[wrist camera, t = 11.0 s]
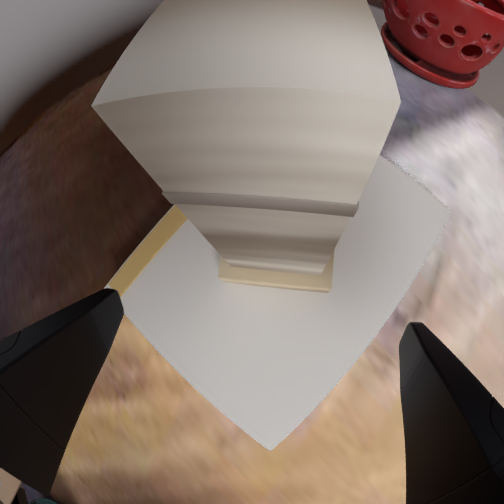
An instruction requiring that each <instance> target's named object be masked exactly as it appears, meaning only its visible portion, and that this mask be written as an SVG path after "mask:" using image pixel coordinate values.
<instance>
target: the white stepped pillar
mask: <svg viewBox="0 0 504 504" xmlns="http://www.w3.org/2000/svg"><path fill="white" fill-rule="evenodd" d="M400 103H401V100H400V96H399V92H398V88H397V84H396V81H395V77H394V74H393V70H392V67H391V64H390V61H389V58H388V55H387V52H386V49H385V46H384V43H383V40H382V37H381V35H380V32H379V29H378V27H377V24H376V21H375V19H374V17H373V14H372V12H371V9H370V7H369V5H368V2H367V0H164V1H163V2H162V3H161V4H160V5H159V7H158V8H157V9H156V10H155V12H154V13H153V14H152V15H151V16H150V18H149V19H148V20H147V21H146V22H145V24H144V25H143V26H142V28H141V29H140V30H139V32H138V33H137V34H136V36H135V37H134V39H133V40H132V41H131V43H130V44H129V45H128V47H127V48H126V50H125V51H124V53H123V54H122V56H121V57H120V59H119V60H118V62H117V63H116V65H115V66H114V68H113V69H112V71H111V73H110V74H109V76H108V77H107V79H106V81H105V82H104V84H103V86H102V87H101V89H100V91H99V93H98V94H97V96H96V98H95V100H94V102H93V104H92V105H91V106H92V108H93V109H94V110H95V111H96V112H97V114H98V115H99V116H100V117H101V118H102V120H103V121H104V122H105V123H106V124H107V126H108V127H109V128H110V129H111V130H112V132H113V133H114V134H115V135H116V136H117V138H118V139H119V140H120V141H121V142H122V143H123V145H124V146H125V147H126V148H127V149H128V151H129V152H130V153H131V154H132V155H133V156H134V158H135V159H136V160H137V161H138V162H139V163H140V165H141V166H142V167H143V168H144V169H145V170H146V172H147V173H148V174H149V175H150V176H151V177H152V178H153V180H154V181H155V182H156V183H157V184H158V185H159V186H160V188H161V189H162V190H163V191H162V194H163V195H164V197H165V198H166V199H167V200H168V201H169V202H170V203H171V204H175V205H176V206H177V207H178V208H179V209H180V210H181V211H182V213H183V214H184V215H185V216H186V217H187V218H188V219H189V220H190V222H191V223H192V224H193V225H194V226H195V227H196V228H197V229H198V231H199V232H200V233H201V234H202V235H203V236H204V237H205V238H206V239H207V241H208V242H209V243H210V244H211V245H212V246H213V247H214V248H215V249H216V251H217V252H218V253H219V254H220V255H221V260H220V267H219V273H218V278H220V279H221V280H222V281H224V282H228V283H237V284H245V285H254V286H263V287H272V288H282V289H292V290H302V291H312V292H323V293H328V292H329V291H330V290H331V288H332V276H333V261H334V249H335V247H336V245H337V243H338V241H339V239H340V237H341V235H342V233H343V231H344V229H345V227H346V225H347V223H348V221H349V219H350V217H354V215H355V214H356V212H357V210H358V208H359V199H360V196H361V194H362V192H363V190H364V188H365V186H366V184H367V181H368V179H369V177H370V175H371V173H372V170H373V168H374V166H375V164H376V161H377V159H378V157H379V155H380V152H381V150H382V148H383V145H384V143H385V141H386V138H387V136H388V133H389V131H390V128H391V126H392V124H393V121H394V119H395V116H396V114H397V111H398V109H399V106H400Z"/></svg>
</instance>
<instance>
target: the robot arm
mask: <svg viewBox="0 0 504 504" xmlns="http://www.w3.org/2000/svg"><path fill="white" fill-rule="evenodd" d="M123 315H124V308H123V305H122V302H121V299H120V295H119V293H118V291H117V290H115V289H111V288H105V289H102V290H100V291H98V292H96V293H94V294H92V295H90V296H88V297H86V298H84V299H82V300H80V301H78V302H76V303H74V304H72V305H70V306H68V307H66V308H64V309H62V310H60V311H58V312H56V313H54V314H52V315H50V316H48V317H46V318H44V319H42V320H40V321H38V322H36V323H34V324H32V325H30V326H28V327H26V328H24V329H22V331H21V330H20V331H18V332H16V333H15V334H13V335H11V336H9V337H7V338H5V339H3V340H1V341H0V504H28V501H27V497H26V494H25V490H24V489H23V488H22V487H21V484H22V482H23V483H25V484H26V485H28V486H30V487H32V488H33V489H35V490H37V491H39V492H40V493H42V494H44V495H46V496H49V494H50V491H51V488H52V485H53V482H54V479H55V476H56V474H57V471H58V468H59V465H60V463H61V460H62V457H63V455H64V452H65V449H66V447H67V444H68V442H69V439H70V437H71V434H72V432H73V429H74V427H75V425H76V422H77V420H78V418H79V415H80V413H81V411H82V408H83V406H84V404H85V402H86V399H87V397H88V395H89V393H90V391H91V389H92V386H93V384H94V382H95V380H96V378H97V376H98V374H99V372H100V370H101V368H102V366H103V364H104V361H105V359H106V357H107V355H108V353H109V351H110V348H111V346H112V343H113V341H114V338H115V335H116V333H117V330H118V328H119V325H120V323H121V320H122V318H123ZM399 360H400V393H401V403H402V412H403V423H404V436H405V453H406V504H504V408H503V407H502V406H501V405H500V404H499V403H498V401H497V400H496V399H495V398H494V397H492V395H491V394H490V392H489V391H488V390H487V389H486V388H485V387H484V386H483V385H482V384H481V382H480V381H479V380H478V379H477V378H476V377H475V376H474V375H473V374H472V373H471V372H470V371H469V370H468V368H467V367H466V366H465V365H464V364H463V363H462V362H461V361H460V360H459V359H458V358H457V357H456V356H455V355H454V354H453V353H452V352H451V351H450V350H449V349H448V348H447V347H446V346H445V345H444V344H443V343H442V342H441V341H440V340H439V339H438V338H437V337H436V336H435V335H434V334H433V333H432V332H431V331H430V330H429V329H428V328H427V327H426V326H425V325H424V324H423V323H421V322H410V323H409V324H408V325H407V327H406V329H405V332H404V334H403V336H402V339H401V341H400V344H399Z"/></svg>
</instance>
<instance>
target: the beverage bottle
mask: <svg viewBox="0 0 504 504" xmlns="http://www.w3.org/2000/svg"><path fill="white" fill-rule="evenodd" d="M38 499H39V500H37V501H35V500H34V501H31V503H30V504H57V503H56V502H54V501H52V500H49V499H40V498H38ZM28 503H29V502H28Z"/></svg>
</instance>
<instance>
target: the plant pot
mask: <svg viewBox="0 0 504 504" xmlns="http://www.w3.org/2000/svg"><path fill="white" fill-rule="evenodd" d="M382 2H383V9H384V13H385V17H386V20H387V22H386V23H385V24H384V25H383V26H382V29H381V36H382V39H383V42H384V44H385V46H386V47H387V49H388V50H389V51H390V53H391V54H392V55H393V56H394V57H395V58H396V59H397V60H398V61H399V62H400V63H402V64H403V65H404V66H405V67H407V68H408V69H409V70H411V71H412V72H414V73H416V74H417V75H419V76H421V77H423V78H425V79H427V80H429V81H431V82H433V83H436V84H438V85H441V86H445V87H449V88H457V89H462V88H468V87H471V86H473V85H474V84H475V83H476V81H477V80H478V77H479V70H480V69H481V68H483V67H484V66H486V65H487V64H489V63H490V62H491V61H492V60H493V59H494V58H495V57H496V56H497V55H498V54H499V53H500V52H501V50H502V49H503V47H504V0H382ZM479 2H481V3H482V4H483V5H484V6H481V5H479V4H478V3H479ZM486 33H488V34H489V35H486Z"/></svg>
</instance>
